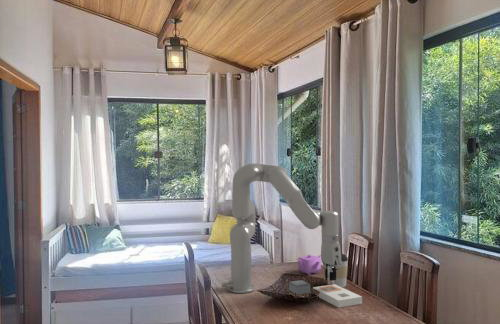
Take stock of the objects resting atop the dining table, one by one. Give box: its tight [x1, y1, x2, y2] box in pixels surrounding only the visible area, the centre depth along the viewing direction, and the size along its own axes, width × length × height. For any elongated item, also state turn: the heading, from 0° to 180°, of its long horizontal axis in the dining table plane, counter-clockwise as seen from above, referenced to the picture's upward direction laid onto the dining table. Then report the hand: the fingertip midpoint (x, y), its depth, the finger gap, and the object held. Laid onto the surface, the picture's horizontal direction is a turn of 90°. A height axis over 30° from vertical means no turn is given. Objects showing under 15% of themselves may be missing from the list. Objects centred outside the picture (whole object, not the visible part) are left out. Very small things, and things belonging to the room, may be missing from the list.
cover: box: [288, 279, 311, 294], centre depth 197 cm, size 7×7×6 cm
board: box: [312, 284, 363, 309], centre depth 193 cm, size 12×20×3 cm, turn 24°
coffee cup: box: [331, 253, 349, 288], centre depth 214 cm, size 9×9×15 cm
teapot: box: [296, 254, 322, 276], centre depth 236 cm, size 18×13×10 cm
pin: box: [327, 265, 334, 285], centre depth 198 cm, size 3×3×8 cm
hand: (330, 279), depth 198 cm, fingers closed on pin, 2 cm apart
